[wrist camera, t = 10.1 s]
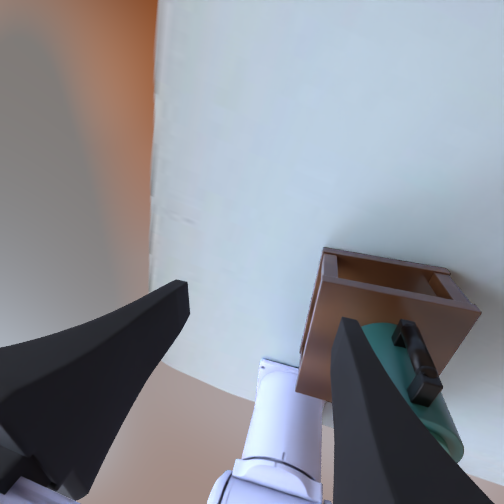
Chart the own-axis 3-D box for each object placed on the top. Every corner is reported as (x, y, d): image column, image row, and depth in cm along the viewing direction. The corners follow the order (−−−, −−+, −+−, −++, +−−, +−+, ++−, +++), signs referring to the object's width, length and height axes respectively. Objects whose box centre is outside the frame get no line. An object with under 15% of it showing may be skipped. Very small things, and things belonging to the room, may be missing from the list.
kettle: (395, 396, 19) (428, 527, 13) (333, 379, 20) (336, 494, 14) (445, 311, 15) (529, 445, 9) (363, 294, 16) (387, 405, 9)
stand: (392, 371, 24) (406, 424, 20) (300, 347, 26) (294, 392, 22) (446, 268, 18) (482, 312, 14) (323, 246, 20) (322, 280, 16)
